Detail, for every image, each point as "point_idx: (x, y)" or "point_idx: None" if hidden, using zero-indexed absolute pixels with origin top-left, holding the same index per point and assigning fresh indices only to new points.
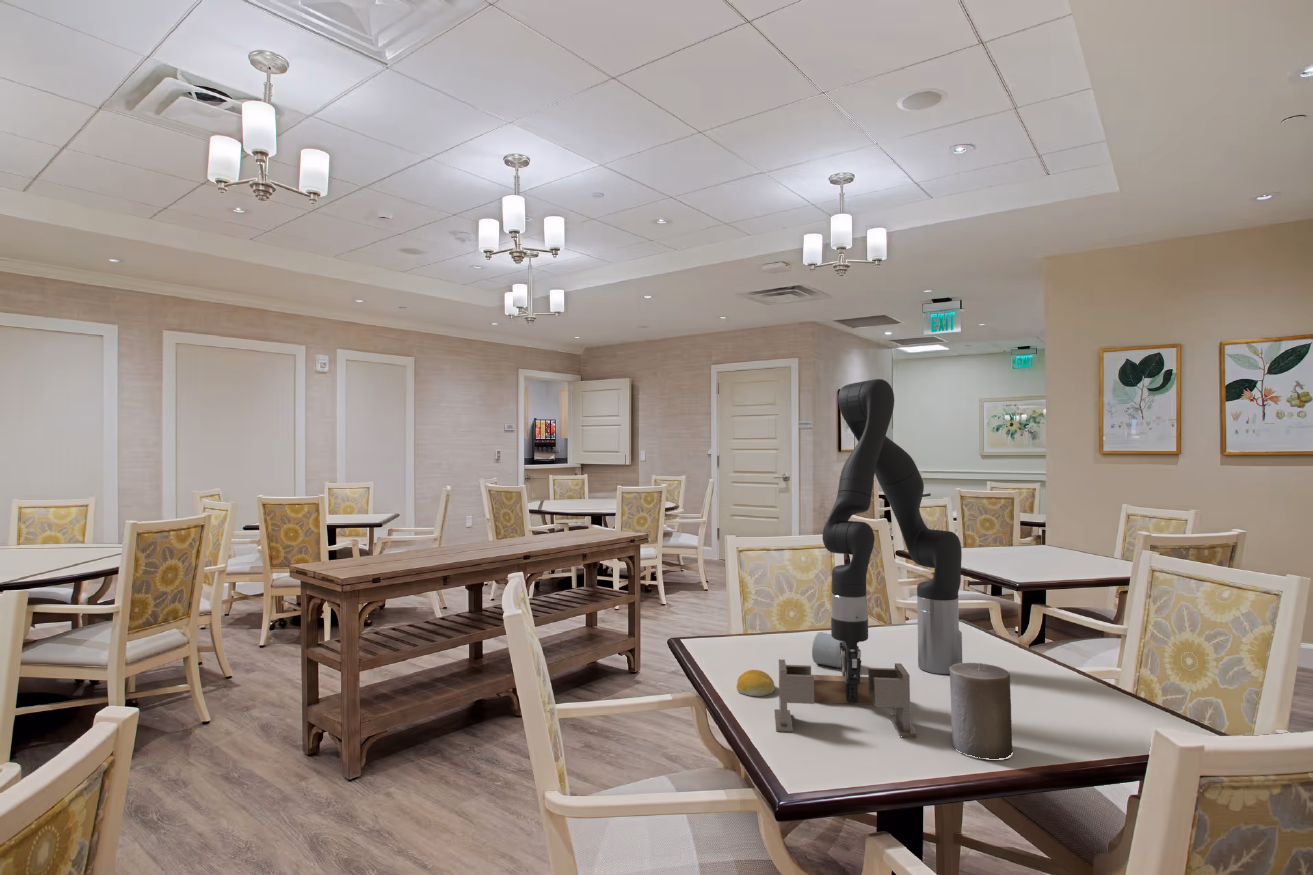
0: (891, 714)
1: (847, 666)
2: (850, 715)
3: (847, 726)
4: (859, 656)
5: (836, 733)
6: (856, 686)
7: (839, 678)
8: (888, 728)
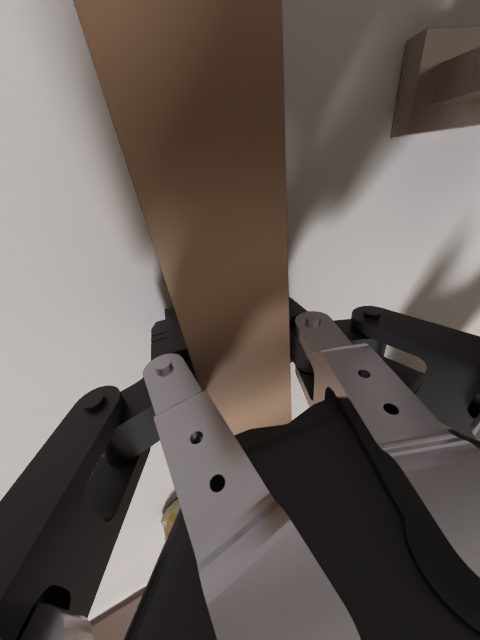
0: (408, 125)
1: (459, 428)
2: (354, 288)
3: (421, 286)
4: (471, 461)
5: (448, 303)
6: (293, 313)
7: (254, 402)
8: (462, 155)
